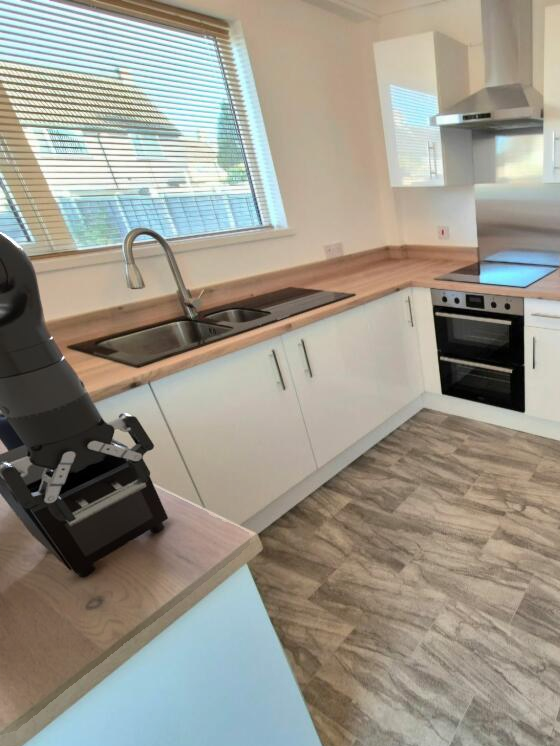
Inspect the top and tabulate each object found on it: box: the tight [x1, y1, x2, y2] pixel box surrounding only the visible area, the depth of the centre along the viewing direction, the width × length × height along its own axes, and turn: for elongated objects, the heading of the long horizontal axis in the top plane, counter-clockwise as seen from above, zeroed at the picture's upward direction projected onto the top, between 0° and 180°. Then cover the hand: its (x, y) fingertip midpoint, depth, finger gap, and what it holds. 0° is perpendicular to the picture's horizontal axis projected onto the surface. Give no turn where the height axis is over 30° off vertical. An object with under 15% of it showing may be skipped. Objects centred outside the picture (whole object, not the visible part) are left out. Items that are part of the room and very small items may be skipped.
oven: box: [0, 437, 165, 579], centre depth 70 cm, size 16×13×18 cm
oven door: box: [30, 463, 169, 575], centre depth 65 cm, size 5×13×14 cm, turn 151°
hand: (108, 498), depth 60 cm, fingers open, 8 cm apart
